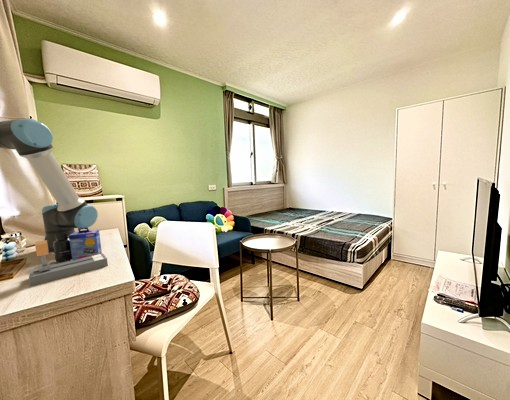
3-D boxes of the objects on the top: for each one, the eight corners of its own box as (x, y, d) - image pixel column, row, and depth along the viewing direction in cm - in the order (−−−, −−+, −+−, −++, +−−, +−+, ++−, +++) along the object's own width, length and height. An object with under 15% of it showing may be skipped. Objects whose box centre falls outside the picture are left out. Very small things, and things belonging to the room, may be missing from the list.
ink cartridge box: (71, 262, 92) (67, 229, 91) (76, 258, 98) (72, 227, 96) (99, 258, 96) (95, 226, 95) (102, 254, 101) (98, 224, 100)
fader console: (30, 286, 73) (28, 277, 72) (31, 277, 79) (30, 269, 79) (107, 265, 88) (106, 258, 88) (103, 260, 94) (102, 253, 94)
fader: (39, 272, 75) (35, 245, 74) (39, 267, 79) (35, 241, 78) (51, 269, 77) (47, 243, 76) (50, 265, 82) (47, 240, 80)
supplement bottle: (63, 263, 92) (60, 235, 91) (51, 262, 94) (47, 235, 93) (79, 257, 99) (76, 231, 98) (67, 256, 101) (64, 231, 99)
